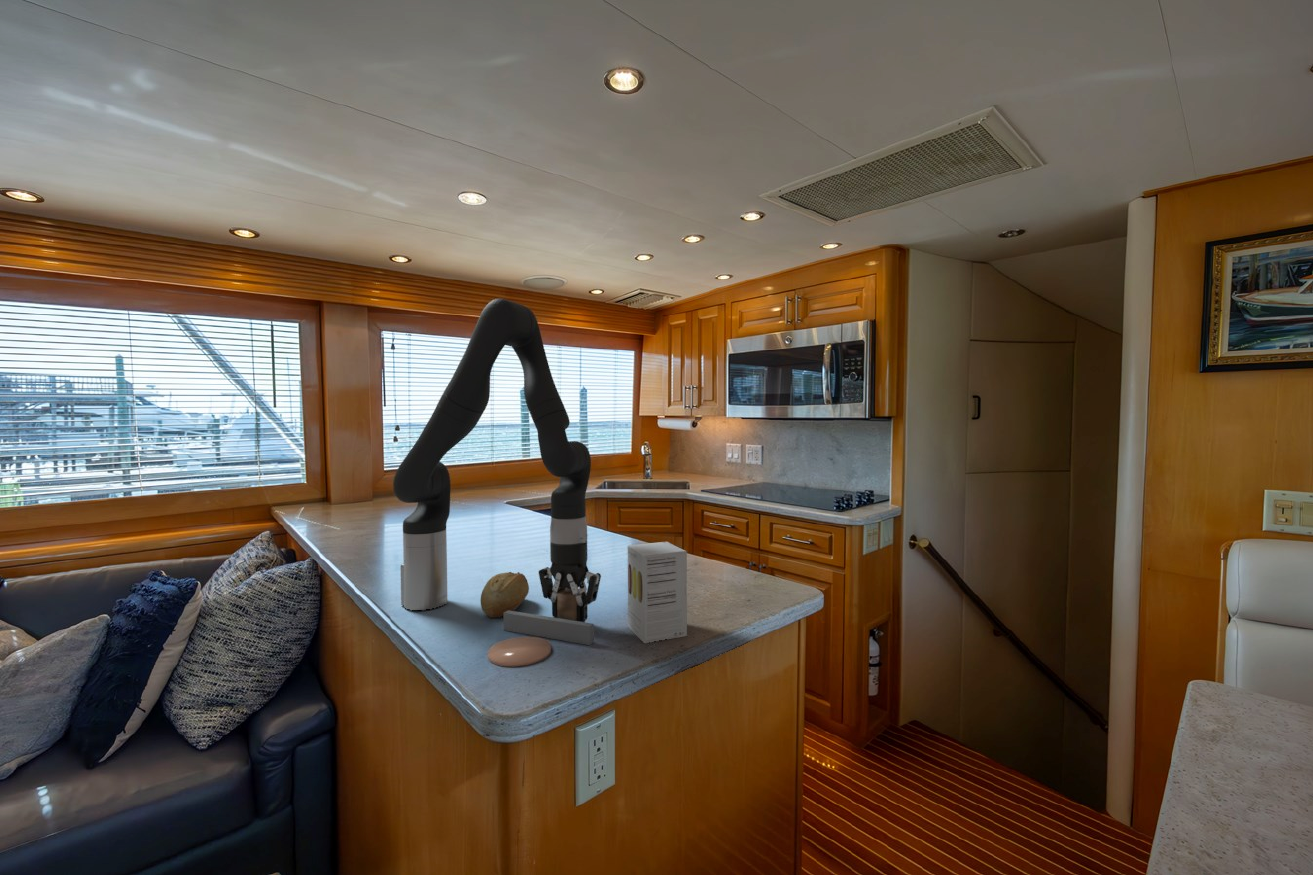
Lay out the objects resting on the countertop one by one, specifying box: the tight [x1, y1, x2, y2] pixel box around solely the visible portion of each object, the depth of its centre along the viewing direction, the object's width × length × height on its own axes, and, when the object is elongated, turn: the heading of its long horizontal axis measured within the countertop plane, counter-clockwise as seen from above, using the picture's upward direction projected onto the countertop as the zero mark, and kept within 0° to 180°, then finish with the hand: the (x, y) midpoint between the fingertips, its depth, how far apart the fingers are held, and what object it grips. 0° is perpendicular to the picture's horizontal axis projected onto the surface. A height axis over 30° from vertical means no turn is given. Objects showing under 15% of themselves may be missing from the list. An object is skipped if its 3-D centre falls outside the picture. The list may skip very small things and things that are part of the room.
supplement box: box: [627, 541, 688, 644], centre depth 105 cm, size 10×9×17 cm
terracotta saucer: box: [487, 636, 552, 668], centre depth 96 cm, size 11×11×1 cm
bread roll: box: [480, 571, 530, 619], centre depth 120 cm, size 10×15×8 cm, turn 178°
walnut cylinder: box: [557, 588, 578, 621], centre depth 109 cm, size 5×5×7 cm
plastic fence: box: [502, 610, 595, 646], centre depth 104 cm, size 20×2×4 cm, turn 67°
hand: (569, 620), depth 109 cm, fingers closed on walnut cylinder, 5 cm apart
